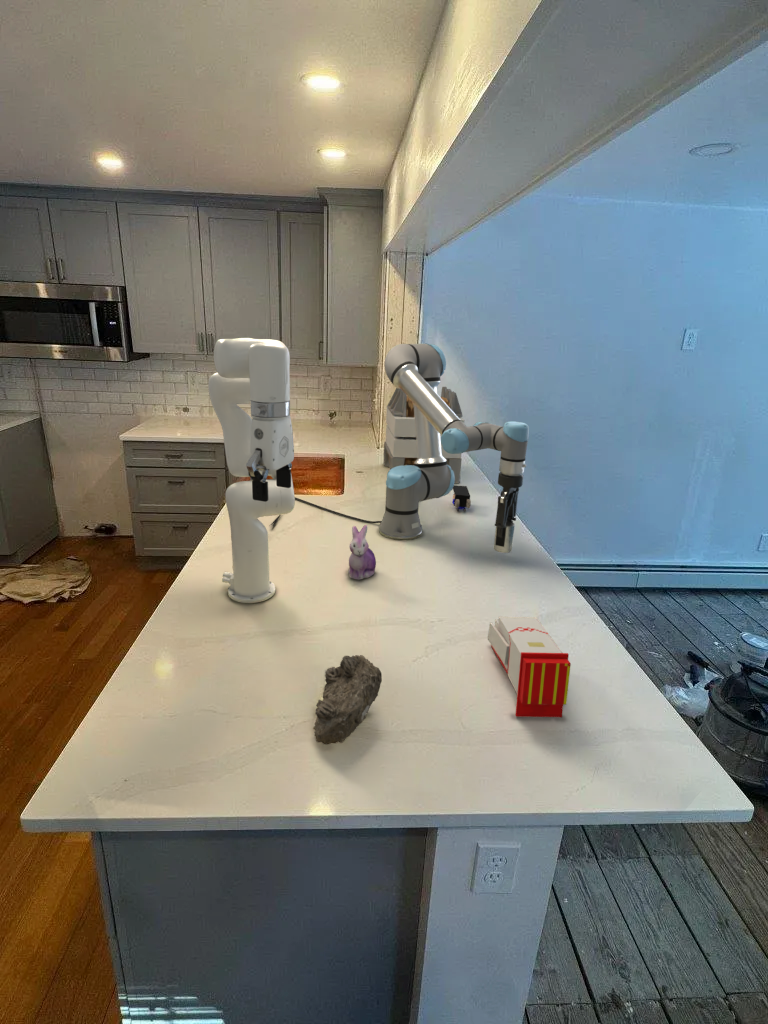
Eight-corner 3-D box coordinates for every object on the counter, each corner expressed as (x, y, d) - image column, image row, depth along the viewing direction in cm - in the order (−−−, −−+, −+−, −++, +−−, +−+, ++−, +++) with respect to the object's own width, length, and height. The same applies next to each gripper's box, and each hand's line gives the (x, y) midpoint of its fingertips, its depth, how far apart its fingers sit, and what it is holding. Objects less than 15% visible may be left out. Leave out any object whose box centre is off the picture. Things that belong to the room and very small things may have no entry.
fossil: (318, 656, 121) (374, 625, 116) (346, 686, 123) (402, 656, 118) (294, 738, 101) (359, 705, 96) (328, 771, 104) (393, 740, 99)
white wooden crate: (382, 463, 289) (386, 382, 275) (445, 464, 293) (451, 384, 279) (390, 482, 257) (394, 392, 243) (460, 483, 261) (468, 394, 247)
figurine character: (470, 516, 223) (465, 500, 237) (473, 499, 220) (467, 484, 233) (453, 516, 223) (449, 500, 236) (455, 498, 220) (451, 483, 233)
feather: (288, 507, 224) (291, 503, 223) (271, 531, 197) (274, 527, 197) (285, 505, 224) (287, 501, 223) (267, 528, 197) (269, 524, 197)
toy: (534, 602, 136) (579, 659, 107) (529, 653, 139) (572, 723, 110) (484, 601, 136) (516, 658, 107) (480, 652, 139) (510, 722, 109)
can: (499, 544, 187) (502, 519, 184) (514, 549, 183) (518, 523, 180) (490, 549, 183) (493, 523, 180) (505, 554, 179) (508, 528, 176)
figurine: (354, 583, 162) (355, 534, 157) (340, 569, 171) (341, 522, 166) (383, 577, 167) (385, 530, 161) (368, 563, 175) (369, 518, 170)
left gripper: (265, 418, 101) (268, 509, 107) (307, 405, 117) (307, 484, 122) (228, 414, 103) (233, 503, 109) (274, 401, 119) (276, 480, 125)
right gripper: (513, 481, 165) (504, 554, 173) (531, 468, 181) (523, 536, 188) (489, 477, 169) (481, 549, 176) (509, 464, 184) (501, 531, 192)
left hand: (272, 493), depth 116 cm, fingers open, 9 cm apart
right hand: (503, 542), depth 182 cm, fingers closed on can, 6 cm apart
